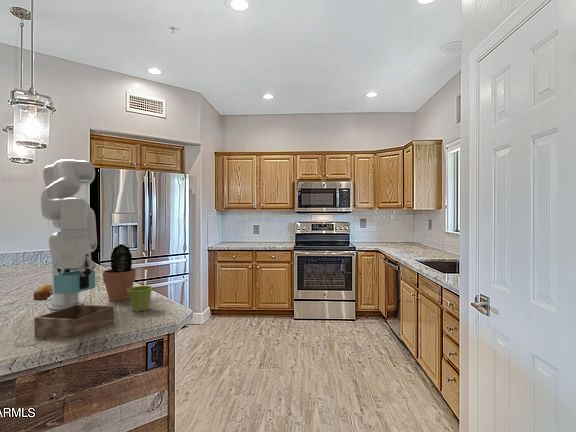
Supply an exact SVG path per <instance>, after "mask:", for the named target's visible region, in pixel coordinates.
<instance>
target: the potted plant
mask: <svg viewBox="0 0 576 432" xmlns="http://www.w3.org/2000/svg"><path fill="white" fill-rule="evenodd" d="M132 258H133V256H132V253H131V251H130V247H129V246H126V245H124V244H122V243H120V244H118V245H117V246H115V247H113V250H112V252H111V255H110V268H111V269H106V270H103V271H102V282H103V284H105V288H106V293H107V298H108V301H110V302H113V303H115V302H124V300H125V301H128V300H130V295H129V293H128V291H127V289H129V288H132V287H134V282H135V280H136V278H137V277H136V274H137V272H136V271H137V269H136V268H133V267H132V265H133V259H132Z"/></svg>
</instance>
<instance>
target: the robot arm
mask: <svg viewBox="0 0 576 432" xmlns="http://www.w3.org/2000/svg"><path fill="white" fill-rule="evenodd" d="M42 171H43V172H42V176H43V181H44V184H45V186H46V187H45V188H44V190H43V191H42V194H41V197H40V209H41V215H42V217H43V218H44V219H46V220H47V221H52V225H53V227H54V228H55V229H60V231H57V232H55V233H51V235H50V236H49V239H48V246H49V251H50V252H49V253H50V259H51V276H52V277H51V279H52V280H51V281H52V283H51V285H52V288H53V296H50V297H49V298H47V299H46V301H47V302H50V304H48V308H47V309H49V310H53V311H57V310H60V309H64V308H67V307H70V306H73V305H85V304H84V300H82V299H80V292H77V293H74V294H54V275H57V274H62V273H68V272H73V271H78V270H79V272H80V274H81V276H82V277H80V289H84V288H88V287H89V275H90V274H91V272H92V271H93V270H94V269H95V268H96V266H97V265H96V263H95V261H93V260H92V254H91V253H92V252H94V251H95V250H96V249H97V247H98V235H97V234H98V233H97V223H96V222H97V220H96V214H95V211H94V209H93V208H91V207H90V206H91V205H90V203H88V202H87V200H85V199H84V198H79V197H75V195H76V194H78V193H80V190H81V189H82V186H85V187H86V186H89V185H91V184H92V183H93V181H94V180H95V177H96V169H95V166H94V165H93V163H92V162H90V161H89V160H88V161H87V160H76V159H60V160H57V161H55V162H54V164H51V165H50V164H49V165H46V166H45V167H44V168H43V170H42ZM84 270H85V272H84Z"/></svg>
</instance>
